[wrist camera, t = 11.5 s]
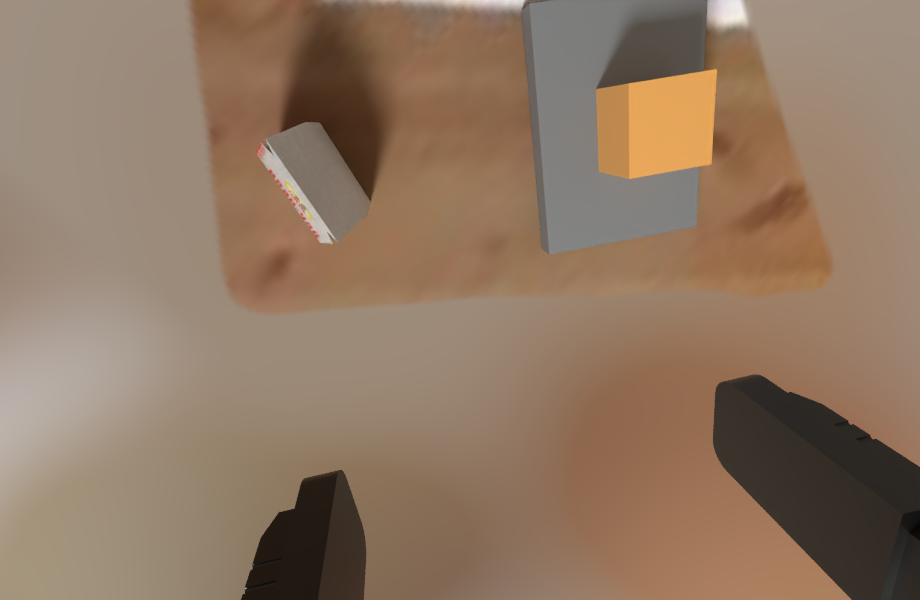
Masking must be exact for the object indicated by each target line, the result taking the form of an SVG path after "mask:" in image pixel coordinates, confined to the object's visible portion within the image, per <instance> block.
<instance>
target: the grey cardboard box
mask: <svg viewBox="0 0 920 600" xmlns="http://www.w3.org/2000/svg"><path fill="white" fill-rule="evenodd" d="M265 139H266V141H267V143H268V146H267V145H265V144H263V143H261V142H260V143H261V145H260V147H259V149H258V150H257V152H256V153H257V155H258V156H259V158H260V159H261V160H262V162H263V163H264V165H265V166H266V167H267V169H268V170H269V172H270V173H271V174H272V176H273V177H274V179H275V180H276V181H277V183H278V184H279V185H280V187H281V188H282V190H283V191H284V192H285V194H286V195H287V197H288V198H289V199H290V201H291V202H292V204H293V205H294V206H295V208H296V209H297V211H298V212H299V213H300V215H301V216H302V218H303V219H304V220H305V222H306V223H307V225H308V226H309V227H310V229H311V230H312V232H313V233H314V234H315V236H316V237H317V239H318V240H319V241H320V243H331V244H332V245H333V242H332V237H333V238H334V239H335V240H336V241H337V242H338V243H339V241H340V240H341V239H342V238H343V237H344V236H345V235H346V234H347V233H348V232H349V231H350V230H351V229H352V228H353V227H355V226H356V225H357V224H358V223H359V222H360V221H361V220H362V219H363V218H364V217H365V216H367V212H368V209H369V205H370V200H369V199H368V197H367V195H366V194H365V192H364V191H363V189H362V188H361V186H360V184H359V183H358V181H357V180H356V178H355V177H354V175H353V174H352V172H351V170H350V169H349V167H348V166H347V164H346V163H345V161H344V160H343V158H342V156H341V155H340V153H339V152H338V150H337V149H336V147H335V145H334V144H333V142H332V141H331V139H330V138H329V136H328V135H327V133H326V131H325V130H324V128H323V127H322V125H321V124H320V122H304V123H302V124H300V125H297V126H295V127H292V128H290V129H288V130H285V131H283V132H281V133H278V134H276V135H273V136H271V137H267V138H265Z"/></svg>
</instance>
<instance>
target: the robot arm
mask: <svg viewBox="0 0 920 600" xmlns="http://www.w3.org/2000/svg"><path fill="white" fill-rule="evenodd" d="M713 445H714V449H715V452H716V454H717V457H718V459H719V461H720V462H721V464H722V466H723V467H724V468H725V469H726V471H727V472H728V473H729V474H730V475H731V476H732V477H733V478H734V479H735V480H736V481H737V482H738V483H739V484H740V485H741V486H742V487H743V488H744V489H745V490H746V491H747V492H748V493H749V494H750V495H751V496H752V498H753V499H754V500H755V501H756V502H757V503H758V504H759V505H760V506H761V507H762V508H763V509H764V510H765V511H766V512H767V513H768V514H769V515H770V516H771V517H772V518H773V519H774V520H775V521H776V522H777V523H778V524H779V525H780V526H781V527H782V528H783V529H784V530H785V531H786V533H788V534H789V536H790V537H791V538H792V539H793V540H794V541H795V542H796V543H797V544H798V545H799V546H800V547H801V548H802V549H803V550H804V551H805V552H806V553H807V554H808V555H809V556H810V557H811V558H812V559H813V560H814V561H815V562H816V563H817V564H818V565H819V566H820V567H821V568H822V570H823V571H824V572H825V573H826V574H827V575H828V576H829V577H830V578H831V579H832V580H833V581H834V582H835V583H836V584H837V585H838V586H839V587H840V588H841V589H842V590H843V591H844V592H845V593H846V594H847V595H848V596H849V597H850V598H851V599H852V600H920V467H919V466H917V465H916V464H914V463H913V462H911V461H910V460H908V459H907V458H905V457H903V456H902V455H900V454H899V453H897V452H896V451H894V450H893V449H891V448H890V447H888V446H886V445H885V444H883V443H882V442H880V441H879V440H877V439H874V440H873V439H872V438H871V437H870V435H869V434H868V433H866V432H865V431H863V430H861V429H860V428H858V427H857V426H855V425H854V424H852V425H850V424H849V423H848V420H846V419H844V418H843V417H841V416H840V415H838V414H837V413H835V412H834V411H832V410H831V409H829V408H827V407H826V406H824V405H823V404H820V403H818V402H815V401H813V400H810V399H808V398H805V397H802V396H800V395H797V394H795V393H792V392H789V393H787V392H785V391H784V390H782V389H781V388H780V387H778V386H777V385H775V384H773V383H772V382H771V381H769V380H768V379H766V378H765V377H763V376H761V375H750V376H746V377H741V378H737V379H733V380H728V381H724V382H721V383H719V384H718V386H717V387H716V393H715V410H714V429H713ZM252 566H253V569H252V570H251V571H250V573H249V576H248V580H247V583H246V586H245V594H243V595H242V598H241V600H364V585H365V569H366V542H365V535H364V530H363V526H362V522H361V519H360V516H359V514H358V510H357V507H356V505H355V502H354V499H353V496H352V493H351V490H350V487H349V484H348V481H347V478H346V476H345V474H344V472H343V471H342V470H338V471H334V472H330V473H325V474H321V475H317V476H312V477H308V478H305V479H304V480H303V481H302V483H301V486H300V490H299V494H298V497H297V502H296V505H295V509H291V510H287V511H283V512H279V513H278V514H277V516H276V517H275V519H274V520H273V521H272V523H271V524H270V526H269V527H268V528H267V530H266V531H265V533H264V534H263V536H262V537H261V539H260V542H259V545H258V548H257V552H256V555H255V558H254V561H253V564H252Z"/></svg>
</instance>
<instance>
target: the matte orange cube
mask: <svg viewBox="0 0 920 600" xmlns="http://www.w3.org/2000/svg"><path fill="white" fill-rule="evenodd" d="M716 75H717V69H714V70H708V71H702V72H696V73H690V74H684V75H678V76H672V77H665V78H659V79H653V80H647V81H641V82H635V83H629V84H623V85H617V86H611V87H605V88H600V89H596V103H597V133H598V163H599V172H601V173H606V174H610V175H614V176H619V177H623V178H627V179H632V178H638V177H643V176H649V175H654V174H660V173H665V172H671V171H677V170H682V169H688V168H693V167H699V166H704V165H710V164H711V161H712V143H713V126H714V109H715V92H716Z"/></svg>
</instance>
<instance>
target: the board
mask: <svg viewBox="0 0 920 600" xmlns="http://www.w3.org/2000/svg"><path fill="white" fill-rule="evenodd" d="M706 15H707V0H550V1H543V2H536V3H530V4H528V5H527V6H526V7H525V8H524V9H523V10H522V20H523V32H524V44H525V55H526V67H527V79H528V91H529V102H530V114H531V126H532V137H533V149H534V161H535V172H536V184H537V196H538V208H539V219H540V231H541V243H542V249H543V250H544V251H546V252H547V253H548V254H555V253H560V252H565V251H570V250H576V249H581V248H586V247H592V246H597V245H602V244H607V243H613V242H618V241H623V240H628V239H634V238H639V237H644V236H649V235H655V234H660V233H665V232H670V231H676V230H681V229H686V228H691V227H696V223H697V202H698V181H699V167H693V168H688V169H682V170H677V171H671V172H665V173H660V174H654V175H649V176H643V177H638V178H632V179H627V178H623V177H619V176H614V175H610V174H606V173H601V172H599V163H598V133H597V103H596V89H600V88H605V87H611V86H617V85H623V84H629V83H635V82H641V81H647V80H653V79H659V78H665V77H672V76H678V75H684V74H690V73H696V72H702V71H704V56H705V36H706Z"/></svg>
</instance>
